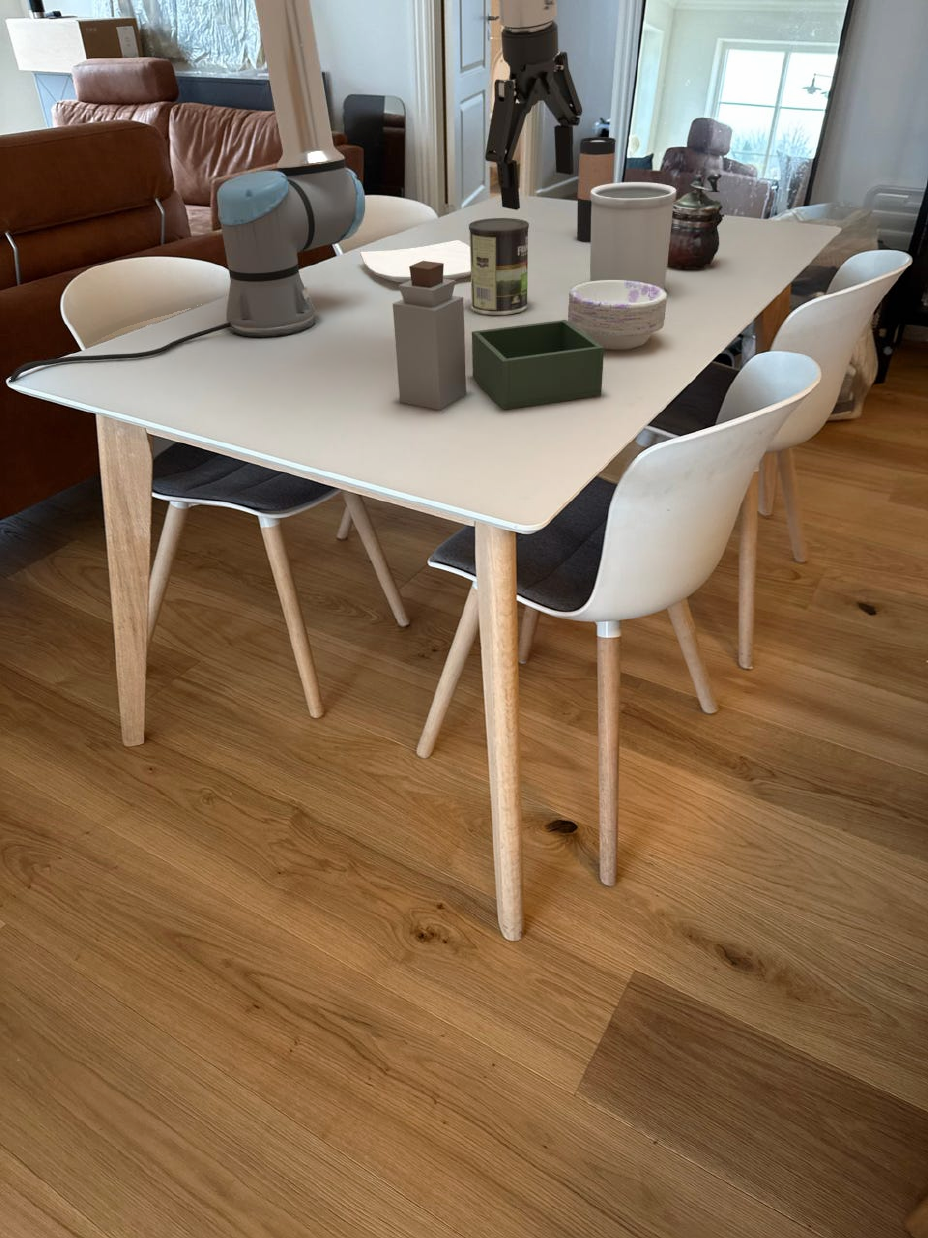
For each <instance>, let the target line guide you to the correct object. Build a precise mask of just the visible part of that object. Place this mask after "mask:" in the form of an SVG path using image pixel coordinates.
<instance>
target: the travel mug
mask: <svg viewBox="0 0 928 1238" xmlns="http://www.w3.org/2000/svg"><path fill="white" fill-rule="evenodd" d="M616 142H617V140H616V139H615V138H614V137H607V136H593V137H583V138H581V139H580V143H579V160H578V180H577V181H578V182H577V213H576V214H577V217H576V218H577V223H576V224H577V227H576V234H577V235H576V237H577V238H576V239H577V240H578V241H580V242H584V243H591V207H592V202H591V199H590V192H591V190H592V189H593V188H595V187H597V186H601V185H606V184H612V183H614V180H615V179H614V178H615V176H614V175H615V160H616Z"/></svg>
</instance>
